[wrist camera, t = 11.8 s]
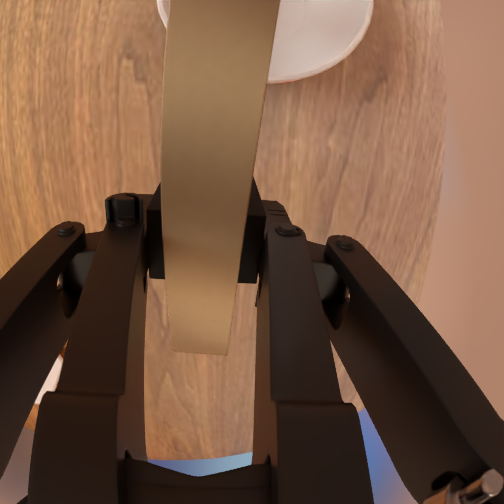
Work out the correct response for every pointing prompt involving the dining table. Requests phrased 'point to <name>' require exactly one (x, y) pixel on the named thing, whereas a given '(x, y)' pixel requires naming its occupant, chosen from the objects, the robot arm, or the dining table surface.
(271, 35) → the ladle
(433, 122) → the dining table surface
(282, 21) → the bowl
